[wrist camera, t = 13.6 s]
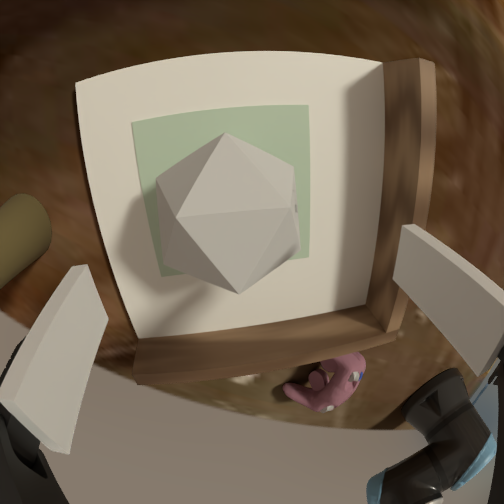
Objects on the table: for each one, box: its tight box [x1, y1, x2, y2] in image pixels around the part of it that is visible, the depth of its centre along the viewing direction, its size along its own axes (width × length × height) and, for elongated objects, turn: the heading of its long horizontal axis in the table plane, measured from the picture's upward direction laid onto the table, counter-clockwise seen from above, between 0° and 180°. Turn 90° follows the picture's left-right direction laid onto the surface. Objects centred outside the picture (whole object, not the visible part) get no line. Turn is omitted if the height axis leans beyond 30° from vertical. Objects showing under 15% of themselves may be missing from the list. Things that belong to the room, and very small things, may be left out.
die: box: [156, 133, 301, 294], centre depth 16 cm, size 8×9×10 cm
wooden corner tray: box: [75, 51, 436, 385], centre depth 19 cm, size 24×24×5 cm
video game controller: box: [283, 352, 366, 413], centre depth 29 cm, size 10×5×7 cm, turn 161°
